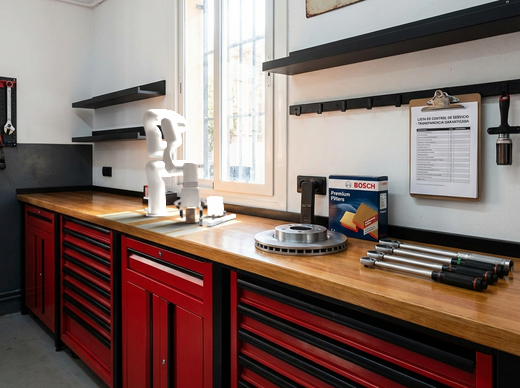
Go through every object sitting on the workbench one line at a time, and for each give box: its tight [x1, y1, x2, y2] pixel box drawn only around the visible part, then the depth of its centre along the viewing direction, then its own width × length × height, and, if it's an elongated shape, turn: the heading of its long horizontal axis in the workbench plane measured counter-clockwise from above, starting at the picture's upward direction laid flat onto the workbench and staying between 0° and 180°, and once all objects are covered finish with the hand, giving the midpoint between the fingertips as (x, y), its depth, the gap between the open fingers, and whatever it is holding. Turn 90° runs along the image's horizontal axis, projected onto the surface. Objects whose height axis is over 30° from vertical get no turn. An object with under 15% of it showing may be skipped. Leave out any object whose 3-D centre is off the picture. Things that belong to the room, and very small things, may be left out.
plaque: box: [185, 207, 198, 224], centre depth 213 cm, size 4×10×7 cm, turn 3°
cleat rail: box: [206, 213, 237, 227], centre depth 211 cm, size 2×28×2 cm, turn 158°
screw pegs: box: [198, 210, 227, 227], centre depth 213 cm, size 2×28×4 cm, turn 158°
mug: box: [207, 196, 225, 218], centre depth 231 cm, size 12×8×10 cm
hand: (191, 217), depth 213 cm, fingers open, 9 cm apart
